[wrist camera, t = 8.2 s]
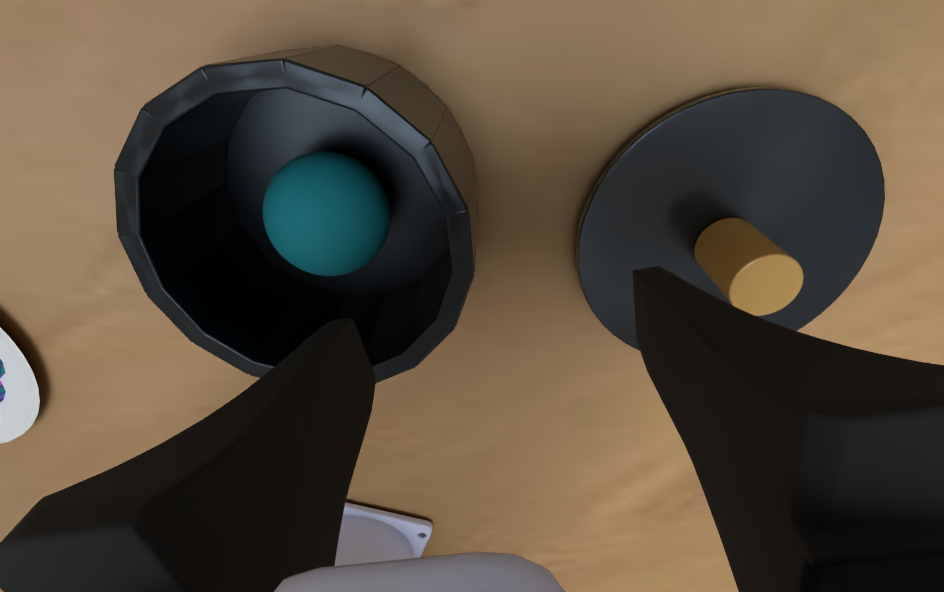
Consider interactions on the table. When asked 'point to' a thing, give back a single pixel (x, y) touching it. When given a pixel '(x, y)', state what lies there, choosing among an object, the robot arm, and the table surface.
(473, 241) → the black pot
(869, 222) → the pot lid
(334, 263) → the ball
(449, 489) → the table surface
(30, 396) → the pudding
